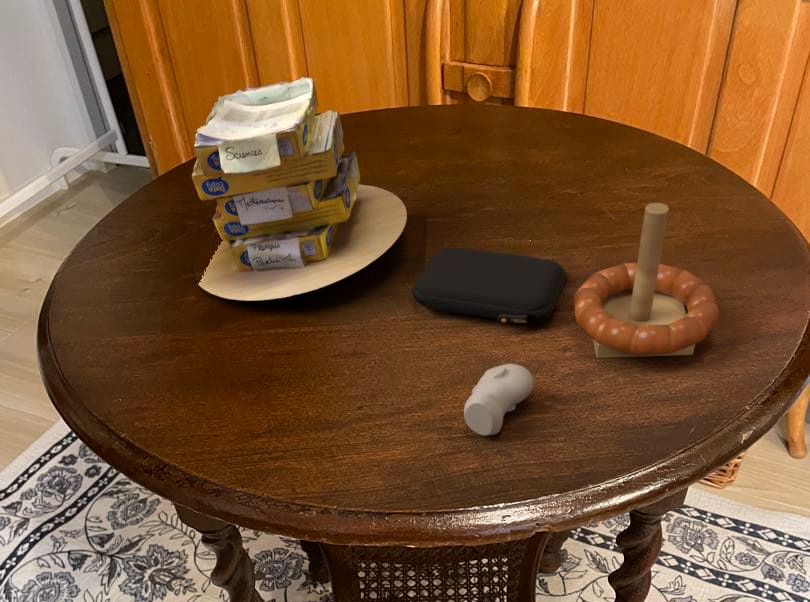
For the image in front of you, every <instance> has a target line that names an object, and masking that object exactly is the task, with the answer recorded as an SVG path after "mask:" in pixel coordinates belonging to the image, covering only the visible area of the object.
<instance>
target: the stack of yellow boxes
mask: <svg viewBox="0 0 810 602" xmlns="http://www.w3.org/2000/svg"><path fill="white" fill-rule="evenodd" d="M315 82H317V79H315V81H314V80H313V78H310V77H301V78H300V79H298V80H293V81H292V82H289V81H280V82H278V83H274V84H268V85H261V86H258V87H249V85H248V84H246V88H245V91H243V90H241V88H240V89H238V90H236V92H233V93H230V94H225V95H223V96H221V95H220V96H218V99H217V102H215V103H214V106H212V107H211V109H212V110H211V112H210V113H209V114H208V116H207V118H206V120H205V123H202V126H200V127H199V128H197V129H196V134H195V142H194V145H193V148H194V151H195V154H196V161H195V163H194V166H193V171H192V174H191V179H192V182H193V184H194V188H195V189H196V192H197V195H198V197H199V199H200V200H201V201H202V202H203V201H204V202H205V201H212V200H215V201H216V203H217V206H216V208H215V213H214V214H213V216H212V221H213V224H214V227H215V229H216V230H217V231H218V233H219V235H220V237H221V239H222V240H223V241H222V242H221V244H220V246H219V245H218V249H217V251H215V254H214V255H213V256H212V257H213V258H212V260H211V259H210V263H209V265H208V267H206V272H205V270H204V276H203V275H202V279H201V280H200V281H201V282H199V284H198V286H199V287H200V288H202V289H203V290H204V291H206V292H207V293H209V294H211V295H214V296H217V297H220V298H223V299H227V300H235V301H236V300H237V301H247V302H248V301H250V302H251V301H266V300H267V301H268V300H269V301H270V300H275V299H283V298H287V297H292V296H296V295H300V294H305V293H308V292H312V291H315V290H319V289H321V288H324V287H327V286H329V285H331V284H334V283H336V282H338V281H341V280H343V279H345V278H348V277H349V276H351V275H353V274H355V273H357V272H359V271H360V270H362V269H364V268H366V267H367V266H368V265H370V264H371V263H373V262H374V261H376V260H377V259H379V258H380V257H381V256H382V255H383V254H385V252H387V250H389V249H390V248H391V247H392V246H393V245H394V244H395V242H396V241H397V240H398V239H399V238H400V236H401V234H402V233H403V231H404V228H405V227H406V224H407V220H408V213H407V208H406V205H405V203H404V202H403V201H402V200H401V198H400V197H399V196H397V195H396V194H394V193H393V192H392V191H389V190H388V189H387V190H386V189H384V188H381V187H377V186H374V185H366V184H362V181H361V173H360V168H359V164H358V158H357V155H356V154H357V151H356V150H353V152H352V154H343V153H344V151H345V146H344V141H343V139H344V138H343V137H344V131H343V127H342V122H341V114H340V113H339V111H338V110H332V109H330V110H326V111H325V112H322V113H321V112H319V113H318V107H319V100H318V95H317V90H316V85H315Z"/></svg>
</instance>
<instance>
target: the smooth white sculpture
mask: <svg viewBox="0 0 810 602" xmlns="http://www.w3.org/2000/svg"><path fill="white" fill-rule="evenodd" d="M533 388H534V378H533V375H532V373H531V372H530V371H529V370H528V368H526V367H524V366H523V365H520V364H517V363H506V364H501V365H498V366H494V367H492V368H489V369H487V370H486V371H485V372H484V373H483V375H482V376H481V377H480V379H478V382H477V383H476V385H475V386H474V387H473V388H472V390H471V395H470V396H469V397H468V399H467V400H466V401H465V404H464V408H463V415H464V416H463V417H464V422H465V424H466V425H467V426H468V428H469V429H470V430H472V431H473V432H474V433H476V434H478V435H480V436H495V435H496V434H498V433H499V432H500V431H501V430H502V426H503V423H504V416H505V415H506V413H508V412H512V411H515V410H516V407H517V406H516V405H518V404H519V403H521V402H523V401H524V400H525V399H527V398H528V397H529V395H530V394H531V393H532V391H533Z"/></svg>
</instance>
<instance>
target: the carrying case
mask: <svg viewBox="0 0 810 602" xmlns="http://www.w3.org/2000/svg"><path fill="white" fill-rule="evenodd" d="M567 279H568V275H567V272H566V270H565V269H564V268H563V267H562V265H560V263H558V262H556V261H555V260H552V259H546V258H541V257H533V256H526V255H520V254H512V253H504V252H496V251H488V250H480V249H474V248H473V249H472V248H464V247H455V246H447V247H442V248H441V249H439V250H438V251H437V252H436V253H435V254H433V256H432V257H431V258H430V260H429V262H428V263H427V264H426V266H425V267H424V269H423V271H422V273H421V274H420V276H419V277H418V278H417V280H416V282H415V284H413V287H412V297H413V298H414V300H415V301H416V302H417V303H418V304H419V305H421V306H422V307H424V308H426V309H431V310H435V311H442V312H447V313H453V314H460V315H467V316H472V317H478V318H485V319H486V318H487V319H492V320H497V322H498V324H501V325H513V324H524V325H525V324H529V325H535V324H539V323H541V322H543V321H544V320H545V319H546V318H548V317H549V316H551V314H552V313H553V312H554V310H555V308H556V305H557V303H558V301H559V299H560V296H561V294H562V291H563V289H564V287H565V284H566V282H567Z"/></svg>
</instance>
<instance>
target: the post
mask: <svg viewBox="0 0 810 602" xmlns="http://www.w3.org/2000/svg"><path fill="white" fill-rule="evenodd" d="M669 210H670V207H669V206H668V205H667V204H665V203H662V202H650V203H648V204H647V205H646V206H645V208H644V213H643V214H644V215H643V221H642V227H641V234H640V242H639V247H638V255H637V261H636V263H637V267H636V274H635V280H634V287H633V290H625V291H623V292H620V293H617V294H614V295H611V296H609V297H607V298H606V299H605V300H604V301H603V302H602V307H603V309H604V310H605V311H607V312H608V313H609V314H610V315H611V316H613V317H614V318H616V319H619V320H623V321H626V322H629V323H633V324H636V325H666V324H669V323H672V322H674V321H677V320H680V319H682V318H684V317H685V316H686V315H687V313H688V312H687V311H686V310H687V309H686V308H685V304H683V303H682V302H680V301H679V300H678V299H676V298H675V297H674V296H671V295H667V294H663V293H660V292H656V291H655V287H656V282H657V276H658V270H659V264H661V257H662V252H663V245H664V240H665V233H666V228H667V222H668V218H669V212H670V211H669ZM592 341H593V346H594V351H595V356H596V358H597V359H605V358H606V359H608V358H639V357H641V358H642V357H667V356H668V357H669V356H670V357H672V356H693V355H694V351H695V347H696V344H694V345H692V346H689V347H686V348H684V349H681V350H679V351H676V352H673V353H670V354H630V353H627V352H623V351H620V350H617V349H614V348H610V347H607V346H604V345H601V344H599V343H598V342H597V341H595V340H594V339H593V338H592Z"/></svg>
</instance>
